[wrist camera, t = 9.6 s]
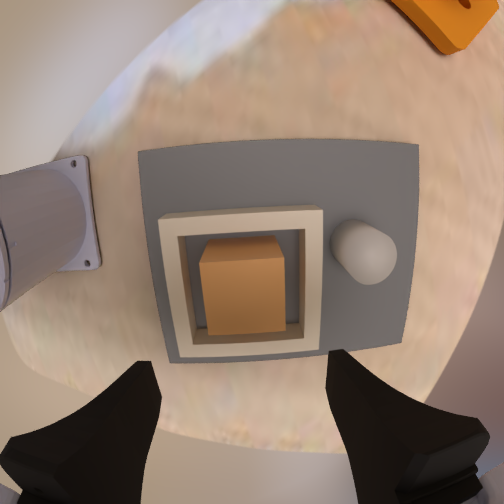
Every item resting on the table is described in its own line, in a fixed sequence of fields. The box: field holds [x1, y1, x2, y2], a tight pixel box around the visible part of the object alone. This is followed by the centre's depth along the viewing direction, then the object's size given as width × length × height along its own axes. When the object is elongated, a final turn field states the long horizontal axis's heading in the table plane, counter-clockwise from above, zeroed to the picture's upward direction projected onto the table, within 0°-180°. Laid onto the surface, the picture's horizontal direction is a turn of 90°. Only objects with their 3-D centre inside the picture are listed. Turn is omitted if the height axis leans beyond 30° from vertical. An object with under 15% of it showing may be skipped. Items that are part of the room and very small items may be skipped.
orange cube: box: [199, 235, 286, 335], centre depth 17 cm, size 4×4×4 cm
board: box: [138, 139, 419, 363], centre depth 18 cm, size 18×15×4 cm
